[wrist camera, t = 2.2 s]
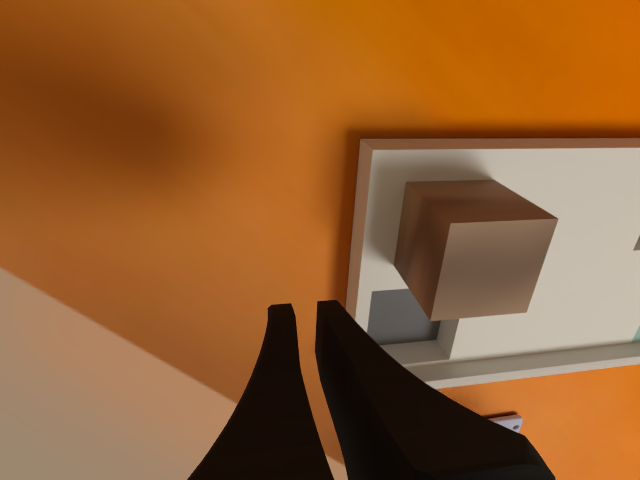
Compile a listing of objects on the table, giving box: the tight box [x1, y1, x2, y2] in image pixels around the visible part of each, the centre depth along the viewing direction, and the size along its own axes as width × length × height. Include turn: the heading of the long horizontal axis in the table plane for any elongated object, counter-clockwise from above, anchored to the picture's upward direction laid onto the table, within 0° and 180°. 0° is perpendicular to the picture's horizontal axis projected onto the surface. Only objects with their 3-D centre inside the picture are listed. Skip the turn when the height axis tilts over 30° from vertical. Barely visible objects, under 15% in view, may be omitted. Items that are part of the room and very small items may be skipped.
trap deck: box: [345, 138, 640, 389], centre depth 24 cm, size 14×26×3 cm, turn 87°
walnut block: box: [394, 180, 558, 321], centre depth 18 cm, size 4×4×4 cm
